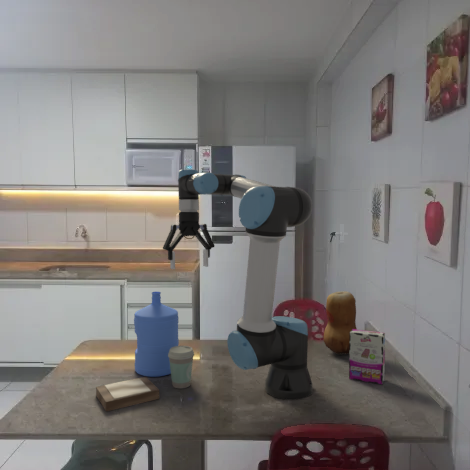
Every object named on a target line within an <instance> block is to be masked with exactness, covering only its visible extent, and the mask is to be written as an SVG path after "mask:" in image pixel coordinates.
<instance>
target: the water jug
mask: <svg viewBox="0 0 470 470" xmlns="http://www.w3.org/2000/svg"><path fill="white" fill-rule="evenodd" d="M161 293H162V292H161V291H153V292H151V295H152V296H151V303H150V304H148V305H146V306H144V307H142V308H140V309H139V310H136V311H135V313H134V319H133V325H134V334H135V335H136V345H137V347H136V349H135V351H134V371H135V372H136V373H137V374H138V375H140V376H142V377H147V378H148V377H149V378H151V377H152V378H159V377H164V376H168V375H171V369H170V361H169V357H168V353H169V351H170V348H172V347H175V346H180V345H179V344H180V342H179V311H178V310H177V309H175V308H173V307H170V306H169V305H165V304H163V303H162V302H161V301H162V300H161V299H162V298H161Z"/></svg>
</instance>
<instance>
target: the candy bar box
mask: <svg viewBox="0 0 470 470" xmlns="http://www.w3.org/2000/svg"><path fill="white" fill-rule="evenodd" d="M349 341H350V342H349V354H348V357H349V359H348V363H349V364H348V367H349V368H348V379H349V380H354V381H361V382H365V383H370V384H371V383H372V384H377V385H383V383H384V381H385V367H386V365H385V361H386V360H385V359H386V357H385V355H386V350H385V349H386V348H385V347H386V333H385V332H382V331H375V330H373V331H372V330H366V329H365V330H364V329H357V330H356V329H352V330H351V331H350V337H349Z"/></svg>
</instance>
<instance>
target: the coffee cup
mask: <svg viewBox="0 0 470 470" xmlns="http://www.w3.org/2000/svg"><path fill="white" fill-rule="evenodd" d="M168 357H169V361H170V369H171V374H170V377H171V384H172V385H171V386H172V387H173V388H174V389H187V388H188V387H190V386H191V380H192V373H193V363H194V362H193V361H194V357H195V352H194V349H193V347H192V346H189V345H178V346H175V347H172V348H170V351H169V353H168Z"/></svg>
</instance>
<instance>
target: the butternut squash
mask: <svg viewBox="0 0 470 470" xmlns="http://www.w3.org/2000/svg"><path fill="white" fill-rule="evenodd" d="M356 302H357V301H356V297H355V296H354V295H353V293H351V292H350V291H344V290H343V291H335V292H332V293H330V294H328V296H327V297H326V302H325V303H326V306H325V312H326V318H327V324H326V327H325V328H324V330H323V343H324V345H325V347H326V348H327V349H329V350H330V351H332V352H333V353H334V354H337V355H339V356H340V355H349V342H350V341H349V337H350V331H351V330H352V329H356V330H358V329H357V325H356V318H357V317H356V316H357V306H356Z"/></svg>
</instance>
